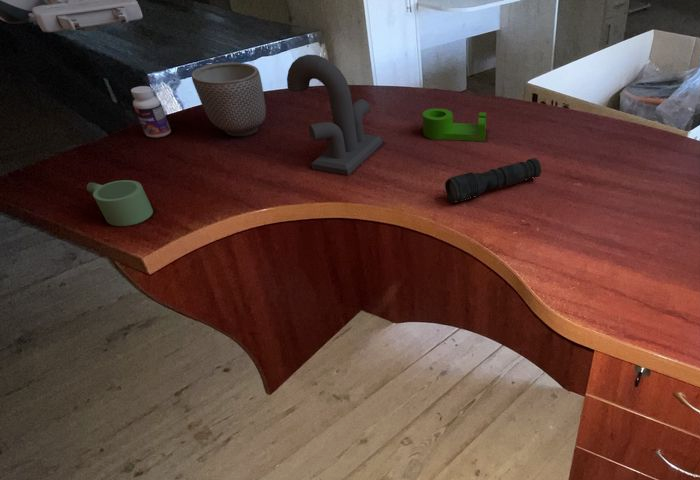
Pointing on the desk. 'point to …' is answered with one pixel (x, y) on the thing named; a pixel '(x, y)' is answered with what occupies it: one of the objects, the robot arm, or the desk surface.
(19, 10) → the robot arm
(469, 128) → the tape dispenser
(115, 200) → the scoop
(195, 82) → the planter
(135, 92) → the pill bottle
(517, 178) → the flashlight
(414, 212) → the desk surface
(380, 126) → the desk surface
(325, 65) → the faucet
